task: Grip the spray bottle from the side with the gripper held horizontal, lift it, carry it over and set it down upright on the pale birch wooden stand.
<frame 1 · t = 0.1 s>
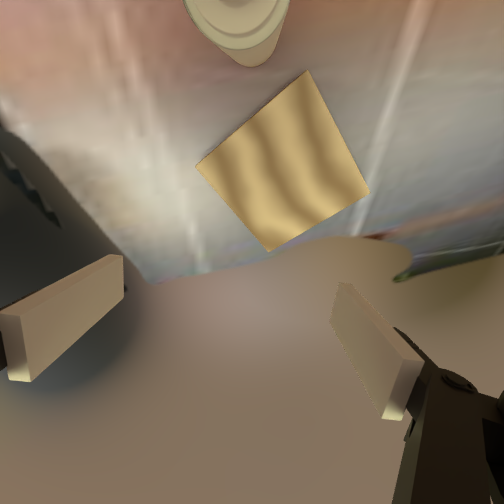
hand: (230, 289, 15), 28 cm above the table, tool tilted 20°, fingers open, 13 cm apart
stand: (282, 171, 38), on the table
spray bottle: (250, 32, 29), on the table
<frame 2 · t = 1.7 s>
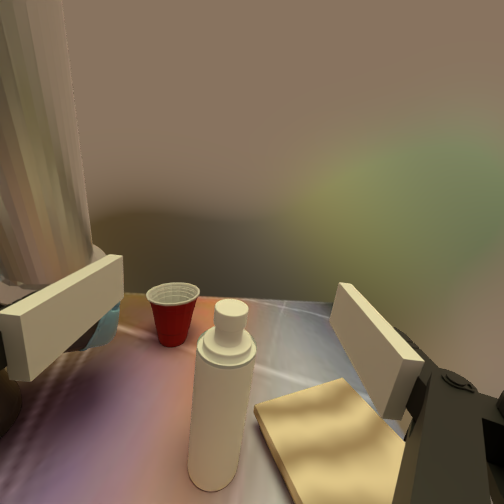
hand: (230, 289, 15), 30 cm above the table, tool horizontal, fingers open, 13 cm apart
stand: (334, 463, 34), on the table
spray bottle: (212, 462, 32), on the table
plastic cup: (171, 339, 55), on the table
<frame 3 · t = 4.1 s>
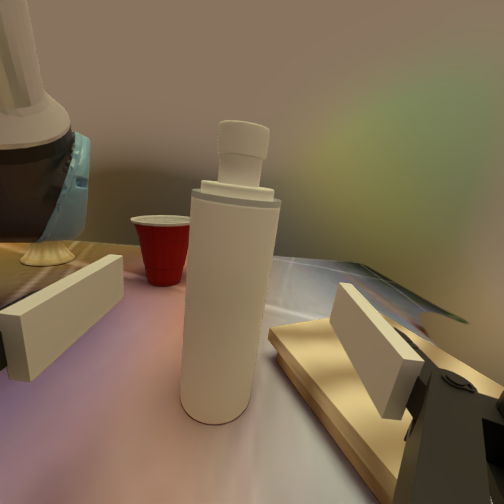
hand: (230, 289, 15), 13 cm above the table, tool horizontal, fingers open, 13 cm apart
hand bell: (49, 260, 48), on the table
stand: (379, 397, 25), on the table
spray bottle: (215, 393, 24), on the table
plastic cup: (163, 280, 46), on the table
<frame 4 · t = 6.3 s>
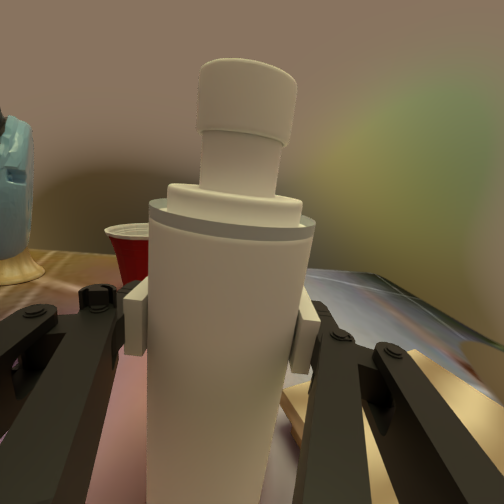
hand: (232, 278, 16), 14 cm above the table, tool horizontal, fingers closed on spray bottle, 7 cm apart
hand bell: (12, 276, 40), on the table
stand: (445, 501, 17), on the table
plastic cup: (147, 302, 38), on the table
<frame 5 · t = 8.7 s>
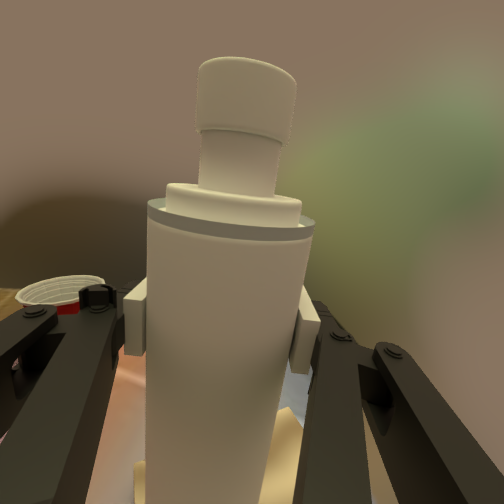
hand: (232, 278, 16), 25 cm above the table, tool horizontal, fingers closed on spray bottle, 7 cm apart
plastic cup: (70, 351, 40), on the table
when the fingers open (19 cm above the table, at t = 11.0 s): spray bottle drops 1 cm, resting on stand.
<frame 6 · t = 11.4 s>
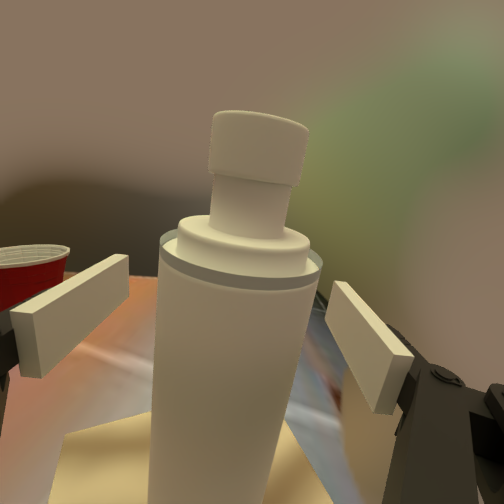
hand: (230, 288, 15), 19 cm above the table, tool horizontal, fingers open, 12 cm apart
plastic cup: (33, 325, 37), on the table
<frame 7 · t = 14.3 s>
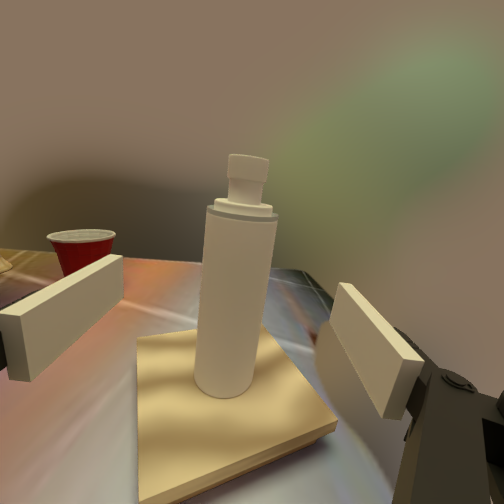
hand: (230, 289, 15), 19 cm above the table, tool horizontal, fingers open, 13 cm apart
stand: (220, 400, 29), on the table
spray bottle: (223, 375, 28), point 4 cm above the table, touching stand
plastic cup: (87, 290, 50), on the table
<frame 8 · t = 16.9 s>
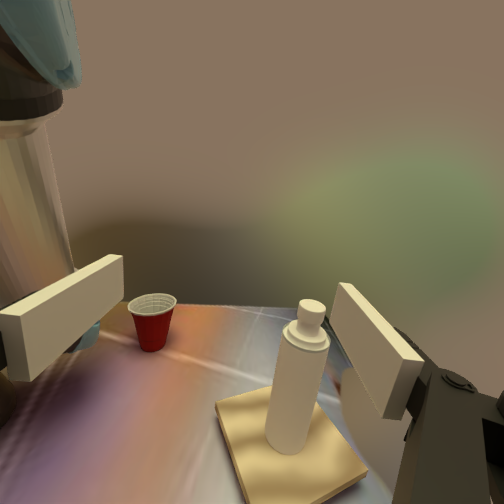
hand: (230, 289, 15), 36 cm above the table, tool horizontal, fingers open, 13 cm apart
stand: (280, 450, 41), on the table
spray bottle: (284, 434, 40), point 4 cm above the table, touching stand
plastic cup: (152, 344, 61), on the table
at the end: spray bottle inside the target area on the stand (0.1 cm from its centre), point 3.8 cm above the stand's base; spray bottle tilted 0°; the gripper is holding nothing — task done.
